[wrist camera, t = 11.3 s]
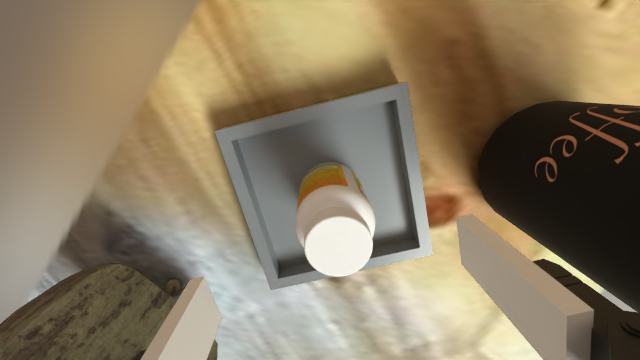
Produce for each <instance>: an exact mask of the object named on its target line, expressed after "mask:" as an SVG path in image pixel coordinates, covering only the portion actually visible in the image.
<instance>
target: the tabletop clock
mask: <svg viewBox="0 0 640 360" xmlns="http://www.w3.org/2000/svg"><path fill="white" fill-rule="evenodd" d="M164 290H165V291H163V290H162V289H161V288H159V287H158V286H157V285H155V284H154V283H153V282H151V281H150V280H149V279H147V278H146V277H145V276H143V275H142V274H140V273H139V272H137V271H136V270H134V269H132V268H130V267H127V266H124V265H122V264H119V263H114V264H102V265H98V266H95V267H91V268H87V269H84V270H82V271H80V272H78V273H76V274H73V275H72V276H70V277H68V278H66V279H64V280H62V281H60V282H59V283H57V284H56V285H54V286H53V287H51V288H50V289H48V290H47V291H45V292H44V293H42V294H41V295H39V296H38V297H36V298H35V299H33V300H31V301H30V302H28V303H27V304H25V305H24V306H22V307H21V308H19V309H18V310H16V311H15V312H14V313H13V314H12V315H11V316H9V317H8V318H7V319H6V320H5V321H3V322H2V323H1V324H0V360H133V359H134V358H135V357H136V356H137V355H138V354H139V353H140V352H141V351H142V350H146V349H147V348H148V347H149V345H150V344H151V342H152V340H153V339H154V337H155V336H156V334H157V332H158V331H159V329H160V327H161V326H162V324H163V323H164V321H165V319H166V318H167V316H168V315H169V313H170V311H171V310H172V308H173V307H174V305H175V303H176V302H177V301H176V300H175V299H174V298H173V296H176V295H178V294H179V293H180V292H181V290H182V283H181V281H179V280H178V279H172V280H170V281H168V282H167V283H166V284H165V288H164ZM207 360H217V342H216V341H215V339H214V342H213V344H212V347H211V350H210V352H209V355H208V358H207Z"/></svg>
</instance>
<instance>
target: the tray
mask: <svg viewBox="0 0 640 360" xmlns="http://www.w3.org/2000/svg"><path fill="white" fill-rule="evenodd" d="M214 132H215V134H216V137H217V140H218V143H219V146H220V149H221V151H222V154H223V157H224V160H225V163H226V165H227V168H228V171H229V174H230V177H231V180H232V182H233V185H234V188H235V191H236V194H237V196H238V199H239V202H240V205H241V208H242V211H243V213H244V216H245V219H246V222H247V225H248V227H249V230H250V233H251V236H252V239H253V242H254V244H255V247H256V250H257V253H258V256H259V259H260V261H261V264H262V267H263V270H264V273H265V275H266V278H267V281H268V284H269V287H270V290H274V289H278V288H283V287H288V286H292V285H297V284H301V283H306V282H311V281H315V280H320V279H324V278H329V277H334V276H329V275H325V274H323V273H321V272H319V271H317V270H316V269H315V268H314V267H313V266H312V265H311V264H310V263H309V261H308V260H307V258H306V255H305V251H304V247H303V246H302V245H301V243H300V241H299V239H298V237H297V234H296V229H295V220H296V211H297V204H298V197H299V189H300V185H301V182H302V180H303V178H304V176H305V175H306V174H307V173H308V171H310V170H311V169H312V168H313V167H315V166H317V165H319V164H323V163H339V164H342V165H344V166H346V167H348V168H349V169H351V170H352V171H353V172H354V173H355V175H356V176H357V178H358V179H359V181H360V183H361V185H362V187H363V190H364V192H365V194H366V196H367V198H368V200H369V202H370V204H371V207H372V209H373V212H374V216H375V231H374V235H373V238H372V240H373V249H372V253H371V256H370V258H369V260H368V262H367V263H366V264H365V265H364V266H363V267H362V268H361V269H360V270H358V271H361V270H366V269H370V268H375V267H380V266H384V265H389V264H393V263H398V262H403V261H407V260H412V259H416V258H421V257H426V256H430V255H433V253H432V246H431V239H430V232H429V225H428V219H427V212H426V205H425V198H424V191H423V185H422V178H421V171H420V164H419V157H418V151H417V144H416V137H415V130H414V123H413V117H412V110H411V103H410V96H409V89H408V83H407V82H406V83H395V84H391V85H388V86H384V87H380V88H376V89H372V90H368V91H364V92H360V93H356V94H352V95H348V96H344V97H340V98H336V99H333V100H329V101H325V102H321V103H317V104H313V105H309V106H305V107H301V108H297V109H293V110H289V111H285V112H281V113H277V114H274V115H270V116H266V117H262V118H258V119H254V120H250V121H246V122H242V123H238V124H234V125H230V126H226V127H223V128H221V129H219V130H217V131H214ZM356 272H357V271H356Z"/></svg>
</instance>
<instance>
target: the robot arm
mask: <svg viewBox="0 0 640 360" xmlns="http://www.w3.org/2000/svg"><path fill="white" fill-rule="evenodd" d="M456 219H457V228H458V237H459V245H460V254H461V263H462V265H463V266H464V267H465V269H466V270H467V271H468V272H469V273H470V274H471V276H472V277H473V278H474V279H475V280H476V281H477V283H478V284H479V285H480V286H481V287H482V288H483V290H484V291H485V292H486V293H487V294H488V295H489V297H490V298H491V299H492V300H493V301H494V302H495V304H496V305H497V306H498V307H499V308H500V309H501V311H502V312H503V313H504V314H505V315H506V316H507V318H508V319H509V320H510V321H511V322H512V323H513V325H514V326H515V327H516V328H517V329H518V330H519V332H520V333H521V334H522V335H523V336H524V337H525V339H526V340H527V341H528V342H529V343H530V344H531V346H532V347H533V348H534V349H535V350H536V351H537V353H538V354H539V355H540V356H541V357H542V358H543V360H640V313H637V312H629V311H623V310H622V309H620V308H619V307H617V306H616V305H615V304H613V303H612V302H610V301H609V300H608V299H606V298H605V297H603V296H602V295H601V294H599V293H598V292H596V291H595V290H594V289H592V288H591V287H589V286H588V285H587V284H585V283H583V282H582V281H581V280H580V279H578V278H577V277H575V276H573V275H572V274H571V273H570V272H568V271H567V270H566V269H564V268H563V267H561V266H560V265H558V264H555V263H553V262H550V261H548V260H545V259H541V260H537V261H531V260H530V259H528V258H527V257H526V256H525V255H523V254H522V253H521V252H519V251H518V250H517V249H516V248H514V247H513V246H512V245H511V244H509V243H508V242H507V241H505V240H504V239H503V238H502V237H500V236H499V235H498V234H497V233H495V232H494V231H493V230H491V229H490V228H489V227H488V226H486V225H485V224H484V223H483V222H481V221H480V220H479V219H477V218H476V217H475V216H474V215H472V214H469V215H465V216H461V217H456ZM221 321H222V317H221V315H220V312H219V310H218V308H217V305H216V303H215V301H214V298H213V296H212V294H211V291H210V289H209V287H208V284H207V282H206V280H205V277H200V278H196V279H192V280H190V281H189V282H188V284H187V286H186V287H185V289H184V290H183V292H182V294H181V295H180V297H179V299H178V300H177V302H176V303H175V305H174V307H173V308H172V310H171V311H170V313H169V315H168V316H167V318H166V319H165V321H164V323H163V324H162V326H161V327H160V329H159V331H158V332H157V334H156V336H155V337H154V339H153V340H152V342H151V344H150V345H149V347H148V348H147V349H146V350H142V351H141V352H140V353H139V354H138V355H137V356H136V357H135V358H134V359H133V360H207V358H208V355H209V352H210V350H211V347H212V344H213V342H214V339H215V336H216V334H217V331H218V328H219V326H220V323H221Z"/></svg>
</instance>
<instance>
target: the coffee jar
mask: <svg viewBox="0 0 640 360" xmlns="http://www.w3.org/2000/svg"><path fill="white" fill-rule="evenodd" d="M479 184H480V187H481V190H482V193H483V196H484V199H485V200H486V201H487V203H488V204H489V205H490V206H491V207H492V209H493V210H494V211H495V212H496V213H498V214H499V215H501V216H502V217H503V218H505V219H506V220H508V221H509V222H511V223H512V224H513V225H515V226H516V227H518V228H519V229H520V230H522V231H523V232H525V233H526V234H528V235H529V236H530V237H532V238H533V239H535V240H536V241H537V242H539V243H540V244H542V245H543V246H545V247H546V248H547V249H549V250H550V251H552V252H553V253H554V254H556V255H557V256H559V257H560V258H562V259H563V260H564V261H566V262H567V263H569V264H570V265H571V266H573V267H574V268H576V269H577V270H579V271H580V272H581V273H583V274H584V275H586V276H587V277H589V278H590V279H591V280H593V281H594V282H596V283H597V284H598V285H600V286H601V287H603V288H604V289H606V290H607V291H608V292H610V293H611V294H613V295H614V296H615V297H617V298H618V299H620V300H621V301H623V302H624V303H625V304H627V305H628V306H630V307H631V308H632V309H634V310H635V311H637V312H638V313H640V106H630V105H615V104H599V103H584V102H568V101H554V102H547V103H539V104H536V105H533V106H531V107H529V108H527V109H525V110H522V111H520V112H518V113H516V114H514V115H513V116H511V117H510V118H509V119H508V120H507V121H505V122H504V123H503V124H502V125H501V126H499V127H498V128H497V129H496V131H495V132H494V134H493V135H492V136H491V138H490V139H489V141H488V142H487V143H486V145H485V147H484V150H483V153H482V156H481V159H480V162H479Z"/></svg>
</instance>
